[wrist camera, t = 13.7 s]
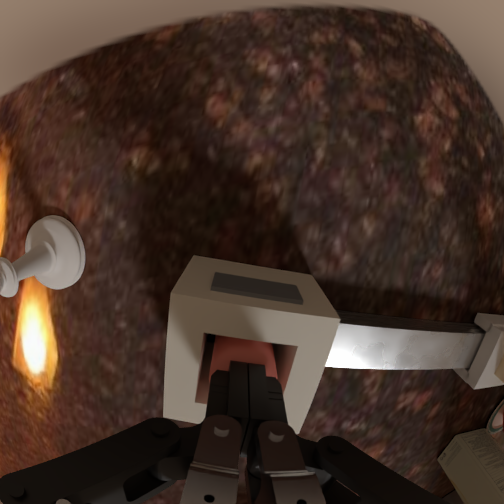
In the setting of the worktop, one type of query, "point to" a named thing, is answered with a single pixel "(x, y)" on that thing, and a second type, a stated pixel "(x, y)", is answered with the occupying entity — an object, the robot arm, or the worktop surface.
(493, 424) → the apple
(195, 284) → the cream square box
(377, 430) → the worktop surface
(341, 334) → the rail
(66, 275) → the chess piece
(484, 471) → the skincare box
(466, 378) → the carriage
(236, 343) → the button
